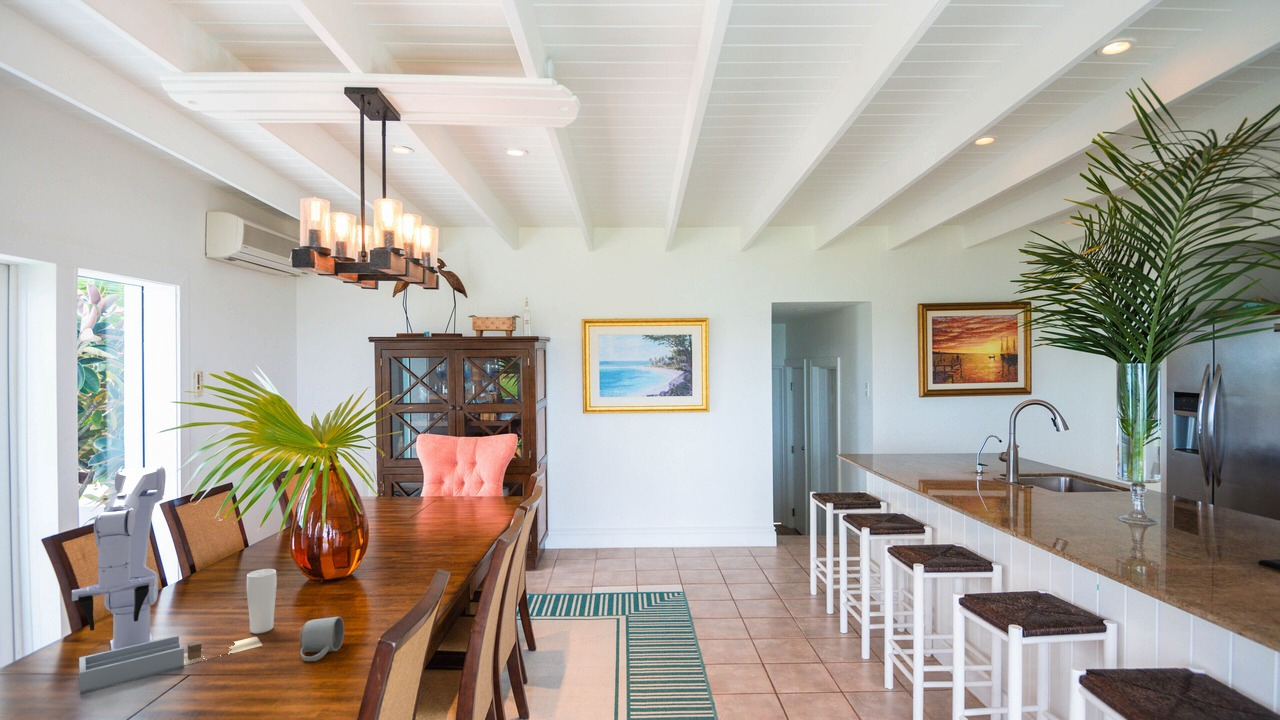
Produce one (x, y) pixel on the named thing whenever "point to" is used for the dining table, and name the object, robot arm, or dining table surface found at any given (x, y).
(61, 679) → the dining table surface
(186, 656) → the cover plate
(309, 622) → the ceramic mug
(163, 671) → the box
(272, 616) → the drinking glass
